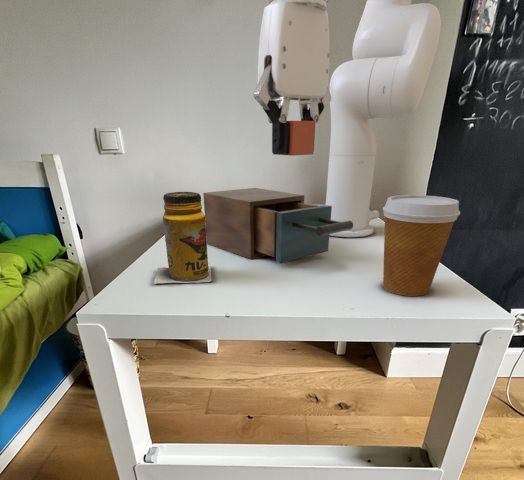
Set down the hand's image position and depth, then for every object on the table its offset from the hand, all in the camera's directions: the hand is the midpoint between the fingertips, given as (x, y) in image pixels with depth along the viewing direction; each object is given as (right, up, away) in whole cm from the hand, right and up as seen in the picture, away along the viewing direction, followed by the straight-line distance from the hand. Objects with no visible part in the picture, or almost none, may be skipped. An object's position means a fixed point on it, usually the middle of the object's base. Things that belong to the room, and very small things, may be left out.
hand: (293, 152), depth 59 cm
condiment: (-17, -19, +1) cm, 25 cm away
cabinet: (-7, -10, +18) cm, 21 cm away
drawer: (+1, -13, +10) cm, 16 cm away
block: (0, 0, 0) cm, 0 cm away
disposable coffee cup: (+16, -22, -4) cm, 27 cm away
